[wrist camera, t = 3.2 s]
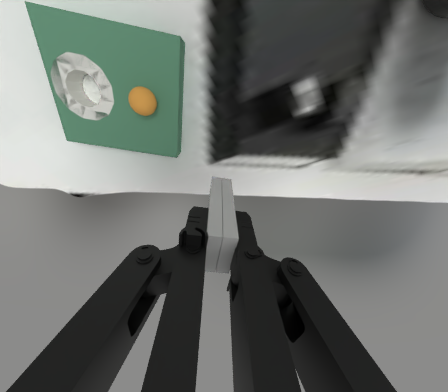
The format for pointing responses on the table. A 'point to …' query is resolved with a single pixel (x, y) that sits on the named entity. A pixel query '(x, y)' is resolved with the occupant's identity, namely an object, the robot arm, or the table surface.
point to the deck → (112, 79)
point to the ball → (142, 101)
